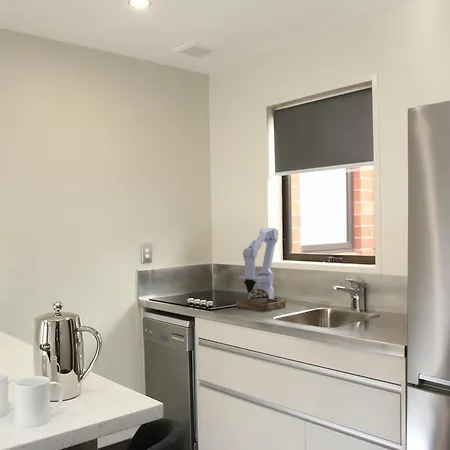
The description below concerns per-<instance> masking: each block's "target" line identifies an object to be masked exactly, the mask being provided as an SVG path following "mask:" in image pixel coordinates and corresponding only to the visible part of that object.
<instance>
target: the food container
mask: <svg viewBox="0 0 450 450" xmlns="http://www.w3.org/2000/svg"><path fill="white" fill-rule="evenodd" d="M247 297H248V298H247V301H246V302H253V303H259V304H264V303H265V302H266V300H267V299H268V298H269V295H268V293H267V292H266V291H264V290H263V289H258V288H253V290H252V291H251V292H250V293H248V295H247Z"/></svg>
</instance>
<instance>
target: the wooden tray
mask: <svg viewBox="0 0 450 450" xmlns="http://www.w3.org/2000/svg"><path fill="white" fill-rule="evenodd" d="M286 304H287V303H286V300H283V299H276V298H274V299H270V298H268V299H267V300H266V302H265V303H264V304H259V303H253V302H247V301H244V300H238V299H237V300H235V307H236V308H242V309H247V310H254V311H261V312H269V311H274V310H278V309H283V308H286Z"/></svg>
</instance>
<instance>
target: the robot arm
mask: <svg viewBox="0 0 450 450" xmlns="http://www.w3.org/2000/svg"><path fill="white" fill-rule="evenodd" d="M278 239H279V230H278V227H261V228H260V229H259V235H258V236H257V238H256V239H253V240H252V242H251V243H250V244H249V246H248V247H245V248H244V249H243V253H242V256H243V261H244V275H239V276H238V280H241V281H242V280H243V283H244V284H245V287H246V291H247V294H249V293H250V292H251V291H252V290H254V287H255V284H256V285H257V287H258V288H257V289H263V290H264V291H266V292H267V293H268V295H269V298H270V299H275V290H274V286H273V284H274V282H275V279H274V276H275V274H274V272H273V271H271V269H272V268H271V267H272V265H273V264H272V263H273V258H274V254H275V247H276V244H277V243H278ZM263 243H265V244H266V246H265V251H264V257H263V260H262V261H263V262H262V266H261V269H260V270H259V271H257V273H256V258H257V257H258V252H259V250H261V248H262V244H263Z"/></svg>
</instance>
